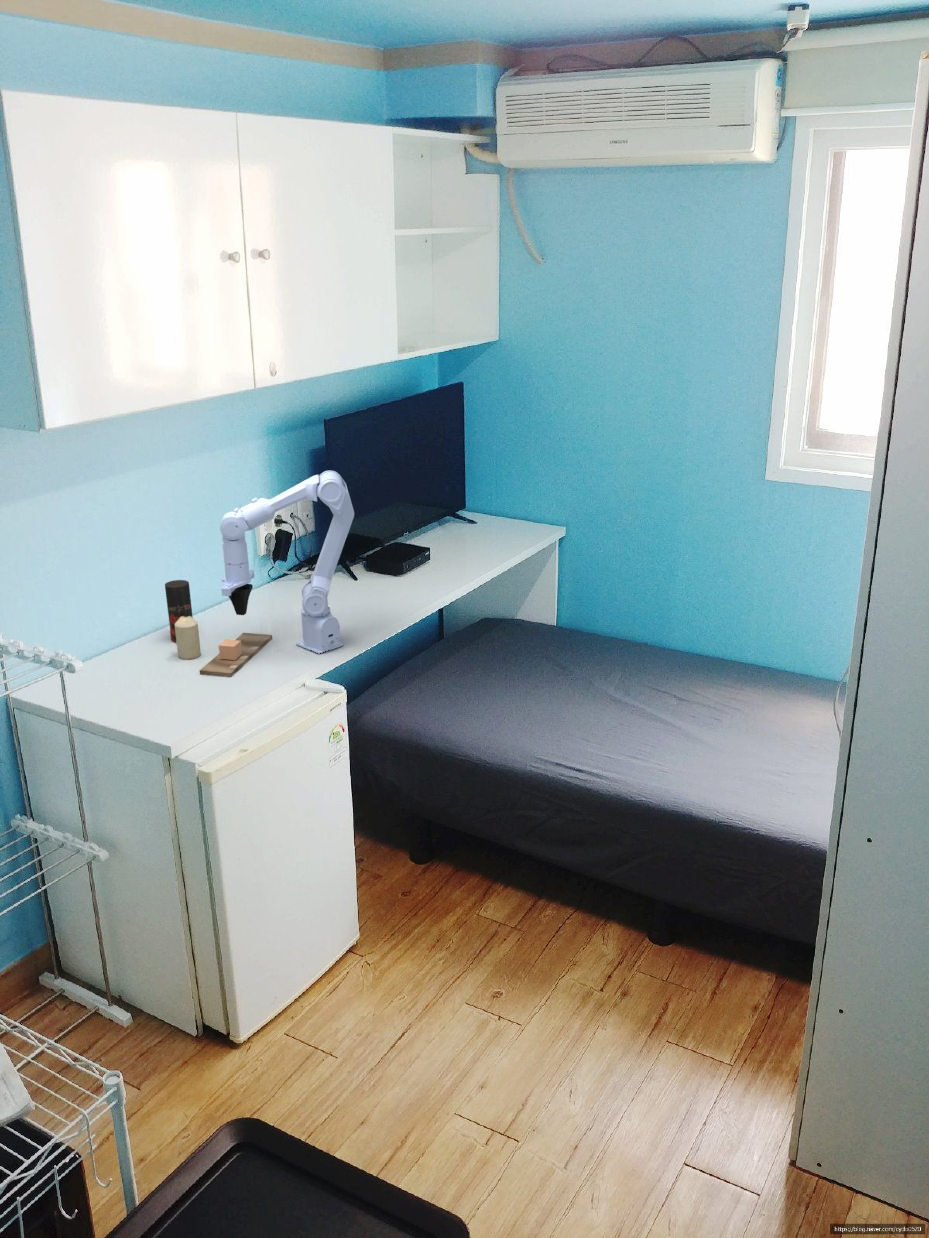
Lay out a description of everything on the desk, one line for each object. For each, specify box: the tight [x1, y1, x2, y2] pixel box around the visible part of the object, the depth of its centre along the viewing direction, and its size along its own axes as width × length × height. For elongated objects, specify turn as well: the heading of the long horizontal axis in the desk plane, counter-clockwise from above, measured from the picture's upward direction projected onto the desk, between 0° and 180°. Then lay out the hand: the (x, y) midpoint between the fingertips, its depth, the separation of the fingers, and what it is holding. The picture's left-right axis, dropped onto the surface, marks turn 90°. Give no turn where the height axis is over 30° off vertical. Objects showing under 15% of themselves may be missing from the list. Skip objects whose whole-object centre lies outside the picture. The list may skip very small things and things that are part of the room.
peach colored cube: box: [218, 639, 242, 660], centre depth 261 cm, size 4×4×4 cm
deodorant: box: [164, 579, 194, 644], centre depth 274 cm, size 6×6×15 cm
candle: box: [175, 616, 202, 660], centre depth 265 cm, size 6×6×10 cm
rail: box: [198, 632, 273, 678], centre depth 266 cm, size 25×8×1 cm, turn 167°
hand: (241, 614), depth 266 cm, fingers closed
